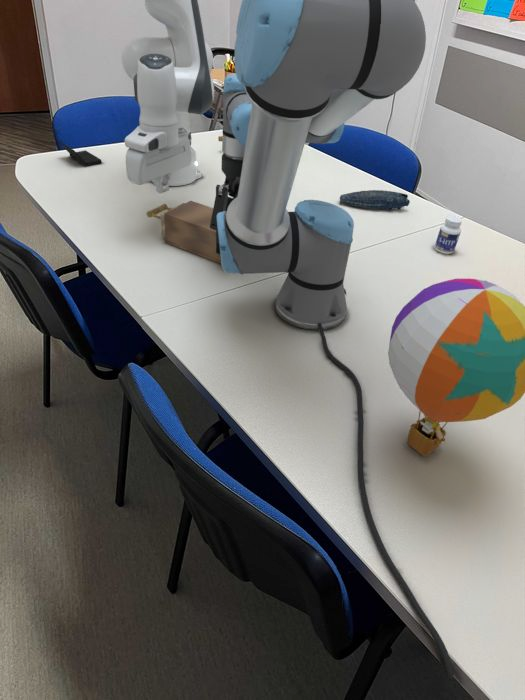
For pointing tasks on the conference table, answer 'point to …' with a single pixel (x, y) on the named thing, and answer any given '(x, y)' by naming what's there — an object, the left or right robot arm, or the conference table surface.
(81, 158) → the black handled piece
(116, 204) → the conference table surface
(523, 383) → the toy
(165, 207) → the drawer
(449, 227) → the pill bottle
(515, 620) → the conference table surface
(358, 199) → the fish model
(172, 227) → the cabinet
